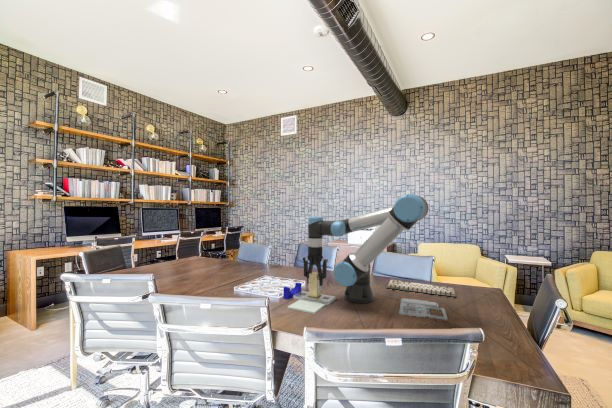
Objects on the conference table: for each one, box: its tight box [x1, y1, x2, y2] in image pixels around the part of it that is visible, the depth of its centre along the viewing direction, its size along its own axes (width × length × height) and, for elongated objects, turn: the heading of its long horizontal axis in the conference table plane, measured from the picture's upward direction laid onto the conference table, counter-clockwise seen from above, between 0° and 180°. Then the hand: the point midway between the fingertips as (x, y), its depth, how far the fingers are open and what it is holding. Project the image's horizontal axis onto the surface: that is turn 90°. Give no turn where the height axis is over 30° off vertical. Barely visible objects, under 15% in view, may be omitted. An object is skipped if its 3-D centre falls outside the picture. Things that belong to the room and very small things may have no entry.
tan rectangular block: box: [308, 271, 322, 298], centre depth 147 cm, size 4×4×12 cm
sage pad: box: [286, 299, 326, 315], centre depth 135 cm, size 14×12×1 cm
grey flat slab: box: [398, 298, 448, 321], centre depth 135 cm, size 23×3×20 cm
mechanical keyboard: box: [386, 279, 457, 299], centre depth 167 cm, size 38×19×3 cm, turn 67°
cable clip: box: [282, 282, 302, 300], centre depth 152 cm, size 12×4×6 cm, turn 146°
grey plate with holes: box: [292, 290, 337, 306], centre depth 147 cm, size 20×10×2 cm, turn 63°
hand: (314, 291), depth 147 cm, fingers closed on tan rectangular block, 4 cm apart
